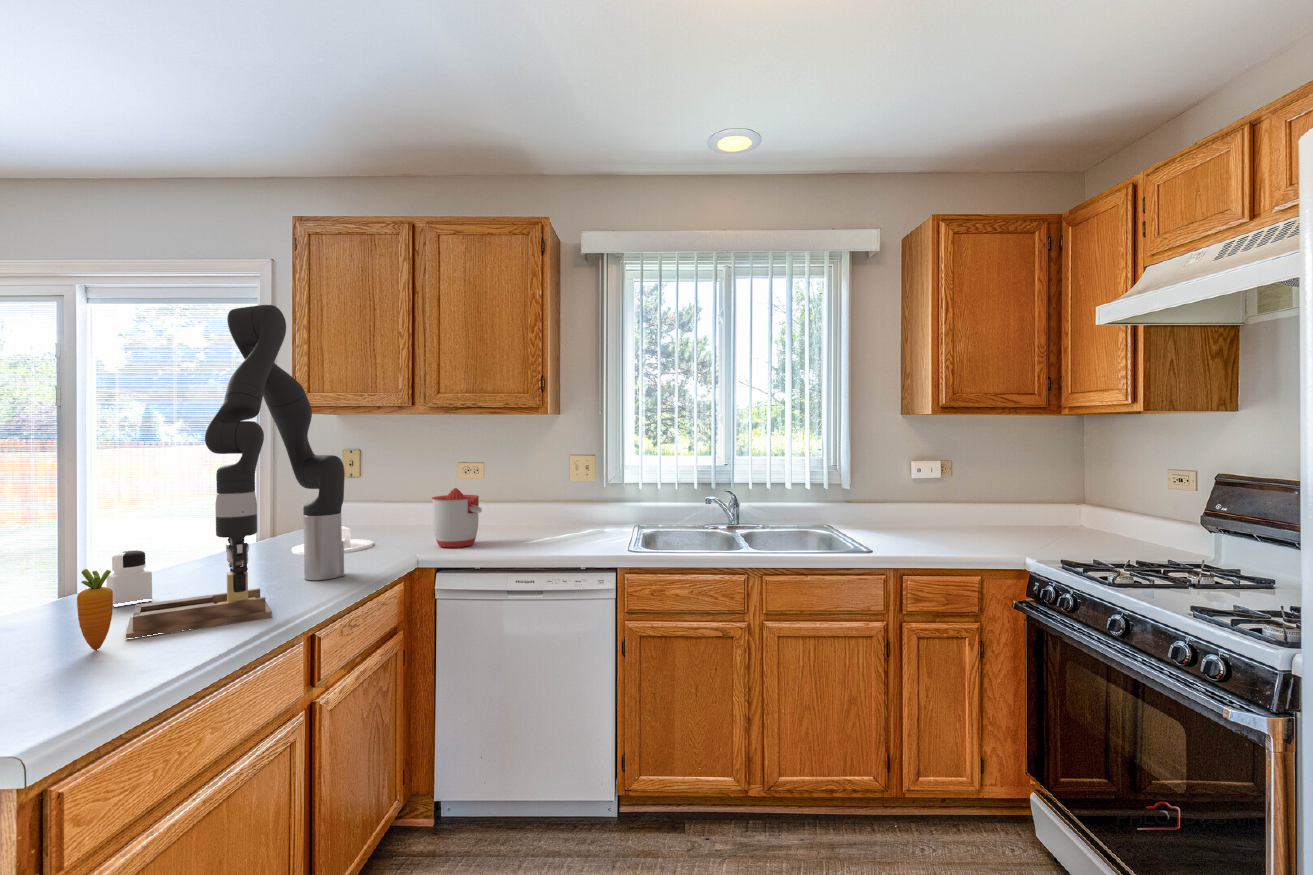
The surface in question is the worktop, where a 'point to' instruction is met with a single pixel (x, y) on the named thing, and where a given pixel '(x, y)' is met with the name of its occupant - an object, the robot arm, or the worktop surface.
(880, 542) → the worktop surface
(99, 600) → the carrot
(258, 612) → the track
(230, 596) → the flanged block
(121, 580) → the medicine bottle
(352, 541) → the dish
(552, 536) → the worktop surface
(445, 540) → the citrus juicer
